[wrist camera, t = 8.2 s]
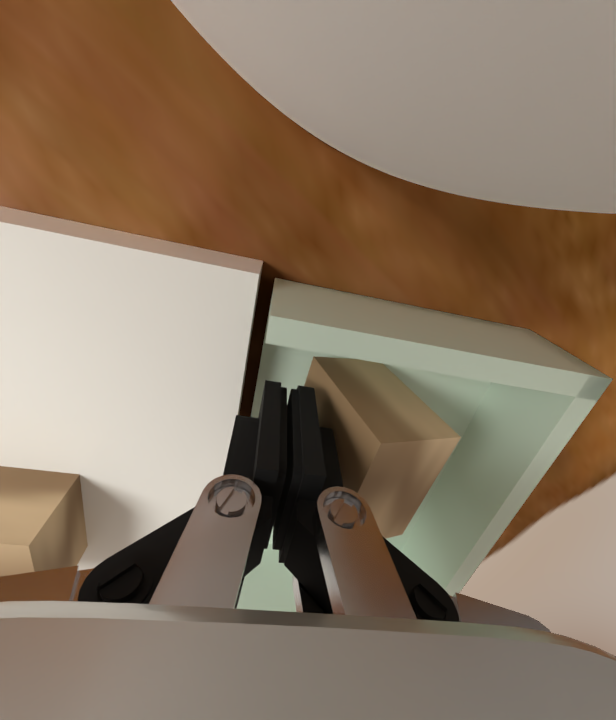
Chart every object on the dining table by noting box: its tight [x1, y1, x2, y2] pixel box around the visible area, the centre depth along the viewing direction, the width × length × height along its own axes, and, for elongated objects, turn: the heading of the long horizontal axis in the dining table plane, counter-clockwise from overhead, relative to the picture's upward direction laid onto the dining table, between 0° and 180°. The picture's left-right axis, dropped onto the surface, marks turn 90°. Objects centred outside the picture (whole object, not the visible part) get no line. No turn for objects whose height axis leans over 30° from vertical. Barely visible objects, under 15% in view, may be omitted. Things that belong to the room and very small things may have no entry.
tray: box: [237, 278, 613, 612], centre depth 15 cm, size 15×10×4 cm
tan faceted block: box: [304, 356, 461, 539], centre depth 12 cm, size 4×4×3 cm
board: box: [0, 206, 263, 570], centre depth 15 cm, size 20×12×2 cm, turn 168°
